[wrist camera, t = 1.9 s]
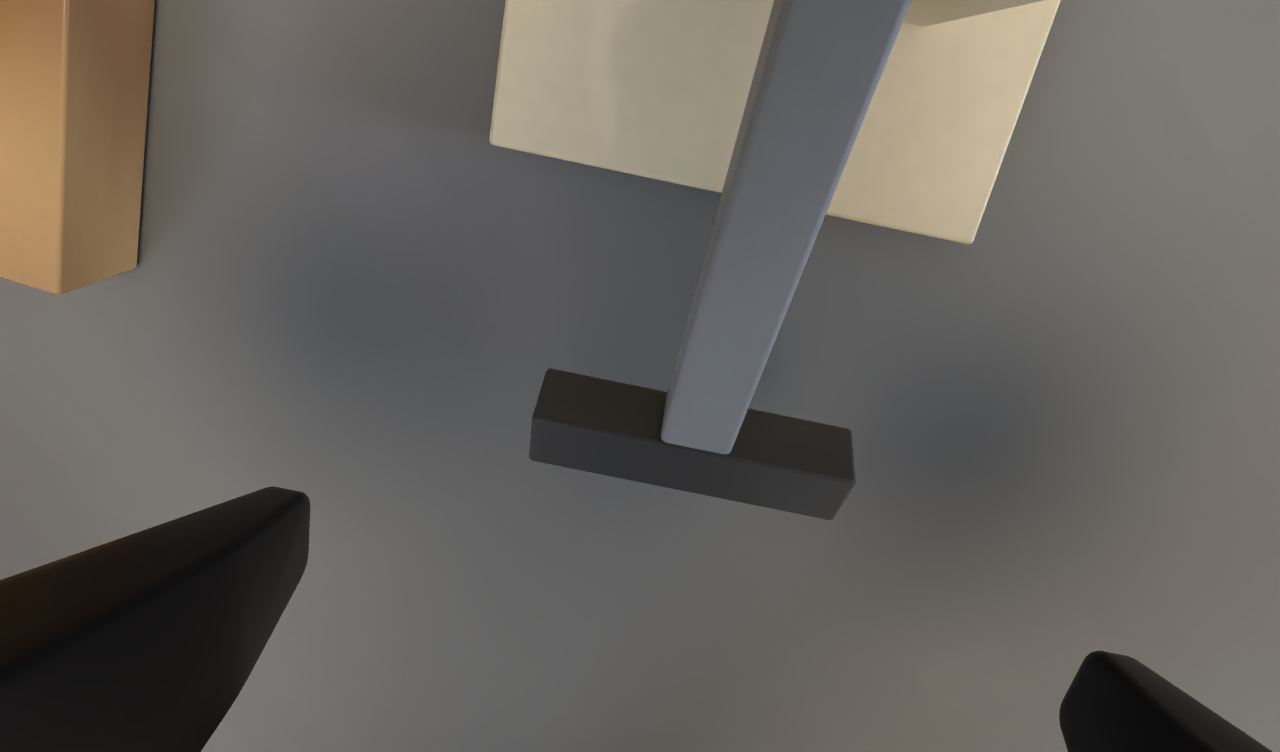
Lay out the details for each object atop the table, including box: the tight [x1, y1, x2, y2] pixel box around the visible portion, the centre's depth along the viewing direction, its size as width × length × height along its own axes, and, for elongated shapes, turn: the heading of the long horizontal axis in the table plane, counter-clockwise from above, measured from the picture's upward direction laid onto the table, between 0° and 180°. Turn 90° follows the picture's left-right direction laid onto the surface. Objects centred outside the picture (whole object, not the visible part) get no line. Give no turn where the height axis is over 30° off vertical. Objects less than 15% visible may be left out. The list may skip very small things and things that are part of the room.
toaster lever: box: [529, 0, 911, 520], centre depth 8 cm, size 12×5×2 cm, turn 169°
